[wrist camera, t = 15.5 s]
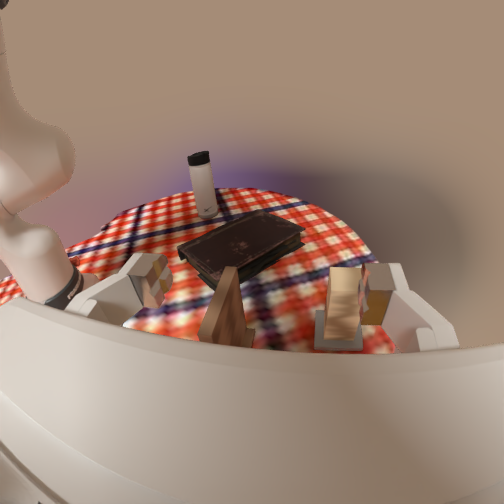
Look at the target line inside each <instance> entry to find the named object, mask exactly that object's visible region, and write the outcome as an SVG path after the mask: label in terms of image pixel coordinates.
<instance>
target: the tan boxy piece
mask: <svg viewBox="0 0 504 504" xmlns="http://www.w3.org/2000/svg"><path fill="white" fill-rule="evenodd" d="M361 278H362V275H361V268H342V267H330V272H329V281H328V289H327V297H326V305H325V312H324V340H347V341H354V338H355V334H356V331H357V327H358V324H359V321H360V315H359V310H360V305H359V304H358V296H357V293H358V284H359V280H360V279H361Z"/></svg>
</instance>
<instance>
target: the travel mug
mask: <svg viewBox="0 0 504 504" xmlns="http://www.w3.org/2000/svg"><path fill="white" fill-rule="evenodd" d="M188 162H189V170H190V176H191V181H192V186H193V192H194V197H195V202H196V207H197V211H198V216H199V217H200V218H203V219H208V218H212V217H214V216H216V215H217V214H218V208H217V202H216V196H215V189H214V183H213V177H212V170H211V164H210V159H209V151H202V152H198V153H195V154H193V155H191V156H188Z"/></svg>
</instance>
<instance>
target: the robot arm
mask: <svg viewBox="0 0 504 504" xmlns="http://www.w3.org/2000/svg"><path fill="white" fill-rule="evenodd" d="M8 2H9V0H0V9H3V8H4V7H5V6H6V5H7V4H8ZM5 52H6V51H5V43H4V35H3V29H2V23H1V19H0V259H1V260H2V261H3V263H4V264H5V265H6V266H7V268H8V269H9V271H10V272H11V274H12V275H13V277H14V278H15V280H16V281H17V283H18V284H19V286H20V288H21V289H22V291H23V292H24V294H25V295H26V298H24V297H17V298H14V299H12V300H10V301H8V302H6V303H5V304H3V305H1V306H0V504H504V342H502V343H496V344H491V345H483V346H477V347H469V348H461V349H460V346H459V343H458V340H457V337H456V334H455V331H454V328H453V325H452V324H451V323H449V322H448V321H447V320H446V319H445V318H444V317H443V316H442V315H441V314H439V313H438V312H437V311H436V310H435V309H434V308H433V307H431V306H430V305H429V304H428V303H427V302H425V301H424V300H423V299H422V298H421V297H420V296H418V295H417V294H416V293H415V292H414V291H410V290H409V287H408V284H407V281H406V278H405V276H404V273H403V270H402V267H401V265H400V264H399V263H387V264H384V263H382V264H381V263H363V264H362V268H361V275H362V278H361V279H360V280H359V284H358V293H357V296H358V304H359V305H360V310H359V315H360V324H361V325H380V326H381V327H382V329H383V330H384V331H385V332H386V334H387V335H388V336H389V338H390V339H391V340H392V342H393V343H394V344H395V346H396V347H397V348H398V350H399V351H400V352H401V353H393V354H326V353H304V352H289V351H276V350H264V349H254V348H245V347H236V346H228V345H220V344H213V343H206V342H200V341H193V340H187V339H181V338H175V337H170V336H165V335H159V334H154V333H149V332H144V331H140V330H135V329H131V328H126V327H122V324H123V323H124V322H125V321H127V320H128V319H129V318H130V317H132V316H133V315H134V314H135V313H137V312H138V311H139V310H141V309H142V308H143V307H150V308H160V306H161V304H162V302H163V301H164V299H165V296H164V294H165V293H167V292H168V291H169V290H170V288H171V287H172V282H173V276H172V272H171V270H170V269H169V268H168V267H167V264H168V260H167V257H166V256H165V255H163V254H151V253H134V254H133V255H132V256H131V258H130V259H129V260H128V261H127V262H126V264H125V265H124V266H123V267H122V268H121V270H120V271H119V272H118V273H117V274H113V275H111V276H109V277H108V278H106V279H104V280H102V281H99V279H98V277H97V276H96V275H94V274H91V273H80V271H79V270H78V269H77V268H76V266H80V260H79V258H78V257H77V256H75V257H73V258H68V256H67V254H66V252H65V249H64V247H63V245H62V243H61V240H60V238H59V236H58V234H57V233H56V232H55V231H54V230H53V229H51V228H50V227H48V226H45V225H38V224H30V223H27V222H25V221H23V220H22V219H21V218H20V217H19V216H18V214H17V213H18V212H20V211H22V210H24V209H26V208H27V207H29V206H31V205H33V204H35V203H37V202H39V201H41V200H43V199H45V198H47V197H48V196H50V195H51V194H53V193H54V192H56V191H57V190H58V189H60V188H61V187H62V186H64V185H65V184H67V183H68V182H69V181H70V179H71V177H72V174H73V171H74V167H75V149H74V146H73V143H72V141H71V139H70V137H69V136H68V135H67V134H66V133H65V132H64V131H63V130H62V129H60V128H59V127H56V126H52V125H49V124H45V123H43V122H40V121H38V120H37V119H35V118H33V117H32V116H31V115H29V114H28V113H27V112H26V111H25V110H24V109H23V107H22V106H21V105H20V104H19V102H18V100H17V98H16V96H15V93H14V90H13V87H12V84H11V80H10V76H9V71H8V65H7V59H6V53H5ZM4 53H5V54H4Z"/></svg>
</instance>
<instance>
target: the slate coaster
mask: <svg viewBox="0 0 504 504" xmlns="http://www.w3.org/2000/svg"><path fill="white" fill-rule="evenodd" d="M324 312H325V311H322V310H316V314H315V336H314V350H338V351H362V350H363V340H362V329H361V324H360V321H359V324H358V327H357V331H356V334H355V338H354V341H347V340H324Z"/></svg>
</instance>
